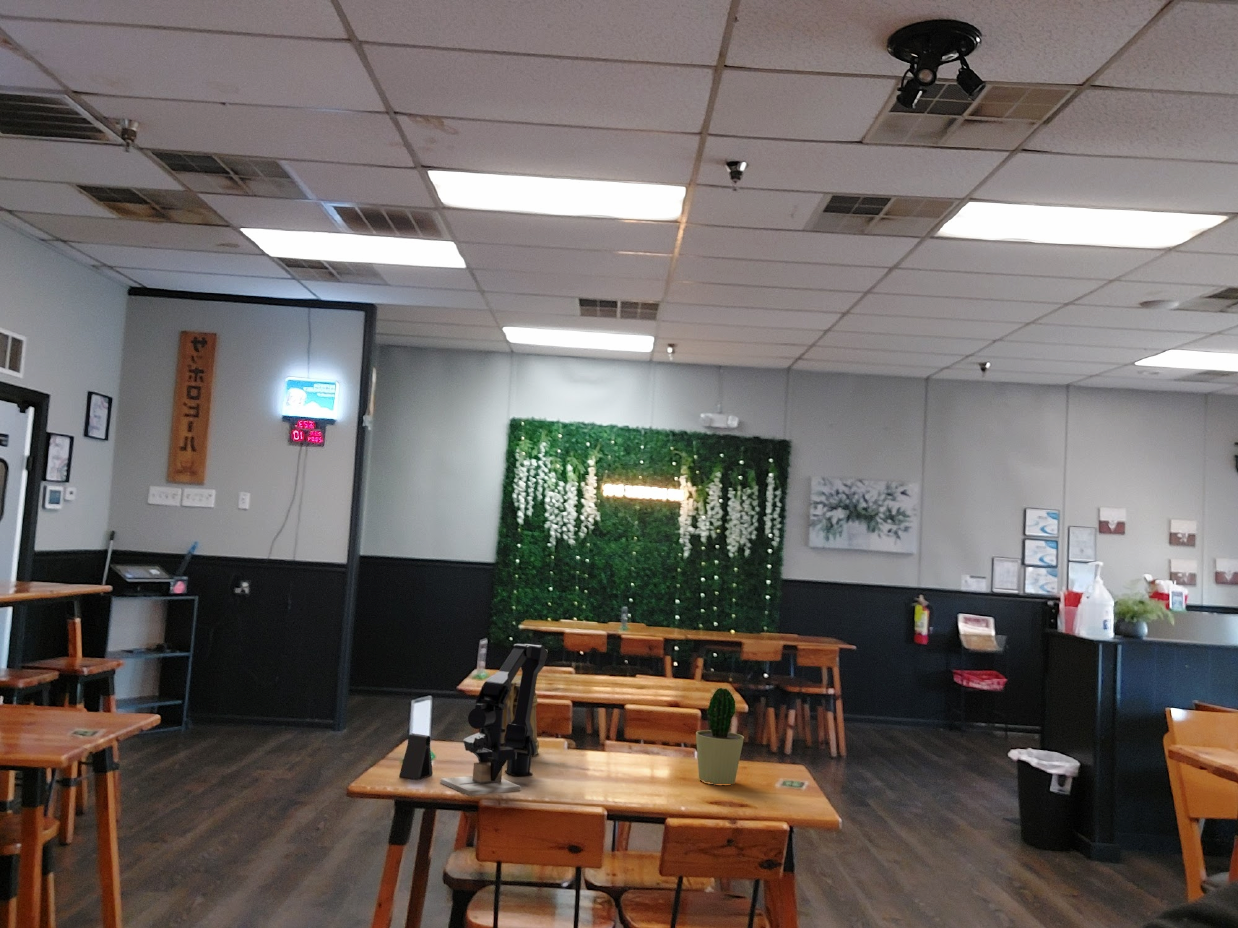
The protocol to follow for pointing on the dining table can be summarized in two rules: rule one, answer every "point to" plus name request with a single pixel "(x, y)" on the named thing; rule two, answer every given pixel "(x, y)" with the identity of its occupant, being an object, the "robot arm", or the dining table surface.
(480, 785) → the board
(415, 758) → the phone stand
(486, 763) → the block
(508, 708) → the tankard
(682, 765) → the dining table surface
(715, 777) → the potted cactus
